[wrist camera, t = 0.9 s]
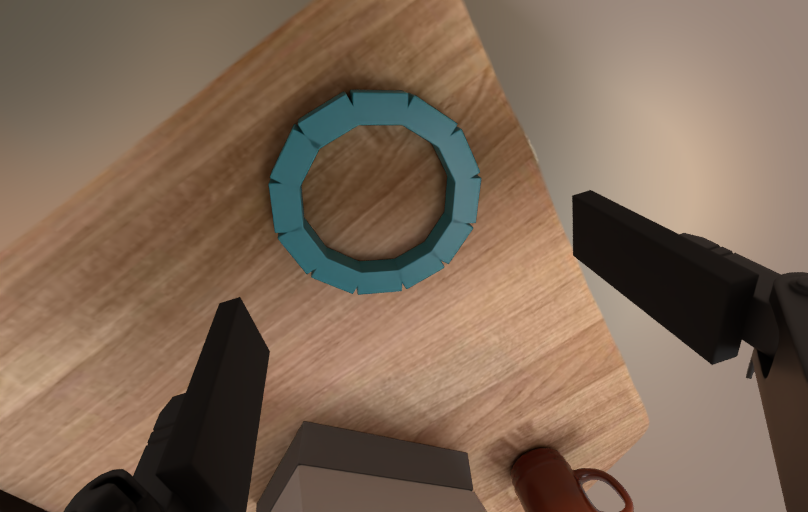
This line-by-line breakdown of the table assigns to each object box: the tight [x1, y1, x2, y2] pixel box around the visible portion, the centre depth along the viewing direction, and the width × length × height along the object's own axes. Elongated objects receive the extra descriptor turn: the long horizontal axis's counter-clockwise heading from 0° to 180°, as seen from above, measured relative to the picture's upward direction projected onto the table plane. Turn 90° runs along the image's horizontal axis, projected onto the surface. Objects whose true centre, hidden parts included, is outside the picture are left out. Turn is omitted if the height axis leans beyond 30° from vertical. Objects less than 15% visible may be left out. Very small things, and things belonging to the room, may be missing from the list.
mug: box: [511, 448, 634, 512], centre depth 46 cm, size 12×9×10 cm
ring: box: [269, 90, 481, 295], centre depth 29 cm, size 15×15×2 cm
